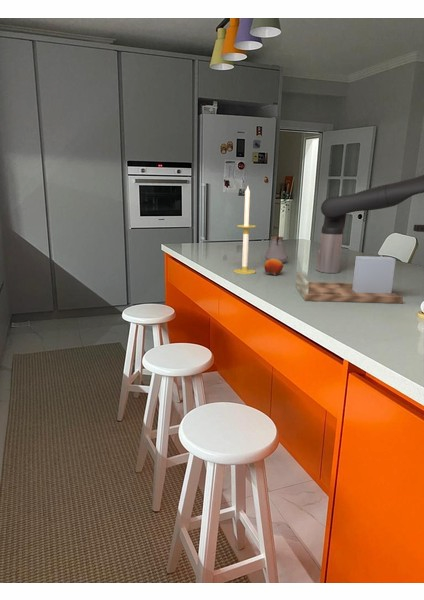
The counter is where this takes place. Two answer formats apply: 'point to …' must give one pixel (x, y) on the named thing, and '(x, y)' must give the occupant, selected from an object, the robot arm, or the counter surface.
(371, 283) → the block
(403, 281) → the counter surface
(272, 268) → the fruit
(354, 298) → the lane
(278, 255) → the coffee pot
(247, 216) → the candle
